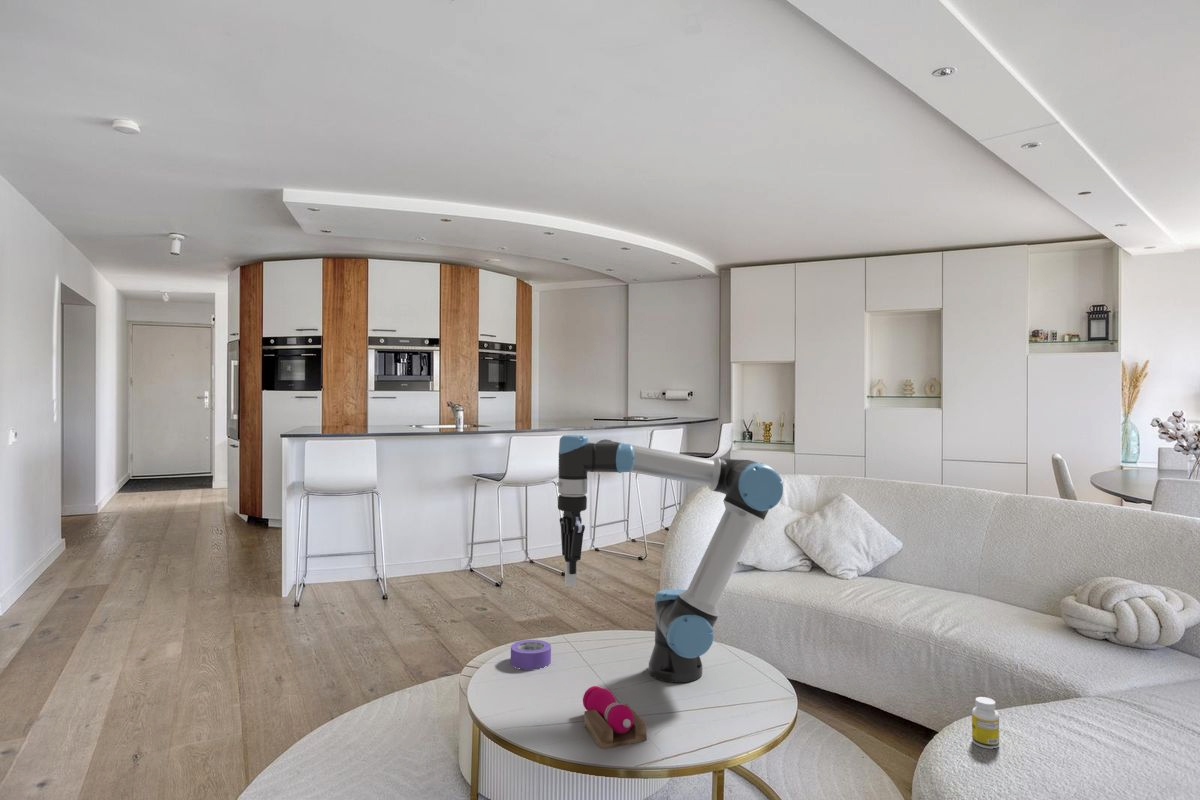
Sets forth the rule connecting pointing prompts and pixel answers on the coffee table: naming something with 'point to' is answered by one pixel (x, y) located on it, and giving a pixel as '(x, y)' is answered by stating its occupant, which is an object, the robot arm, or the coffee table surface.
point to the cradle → (609, 737)
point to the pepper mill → (608, 708)
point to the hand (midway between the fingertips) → (570, 585)
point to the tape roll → (530, 654)
